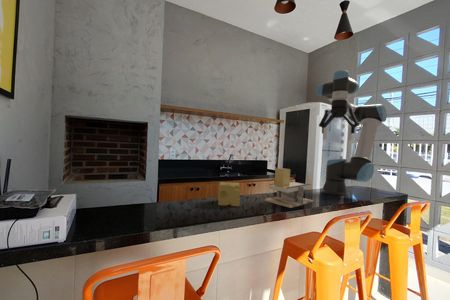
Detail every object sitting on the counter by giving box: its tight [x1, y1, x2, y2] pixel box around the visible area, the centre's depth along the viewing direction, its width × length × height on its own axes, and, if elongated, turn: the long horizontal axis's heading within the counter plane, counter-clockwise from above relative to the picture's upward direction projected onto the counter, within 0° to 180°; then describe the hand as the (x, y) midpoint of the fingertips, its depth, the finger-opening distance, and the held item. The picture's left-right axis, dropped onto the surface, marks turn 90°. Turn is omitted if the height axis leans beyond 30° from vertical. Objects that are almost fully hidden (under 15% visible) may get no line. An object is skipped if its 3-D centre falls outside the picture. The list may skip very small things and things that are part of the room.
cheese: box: [217, 181, 241, 207], centre depth 115 cm, size 10×11×10 cm
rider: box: [274, 167, 291, 188], centre depth 120 cm, size 6×5×9 cm
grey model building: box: [268, 180, 311, 194], centre depth 125 cm, size 22×11×6 cm, turn 132°
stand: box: [264, 187, 314, 209], centre depth 125 cm, size 22×16×9 cm
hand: (337, 139), depth 125 cm, fingers open, 13 cm apart
